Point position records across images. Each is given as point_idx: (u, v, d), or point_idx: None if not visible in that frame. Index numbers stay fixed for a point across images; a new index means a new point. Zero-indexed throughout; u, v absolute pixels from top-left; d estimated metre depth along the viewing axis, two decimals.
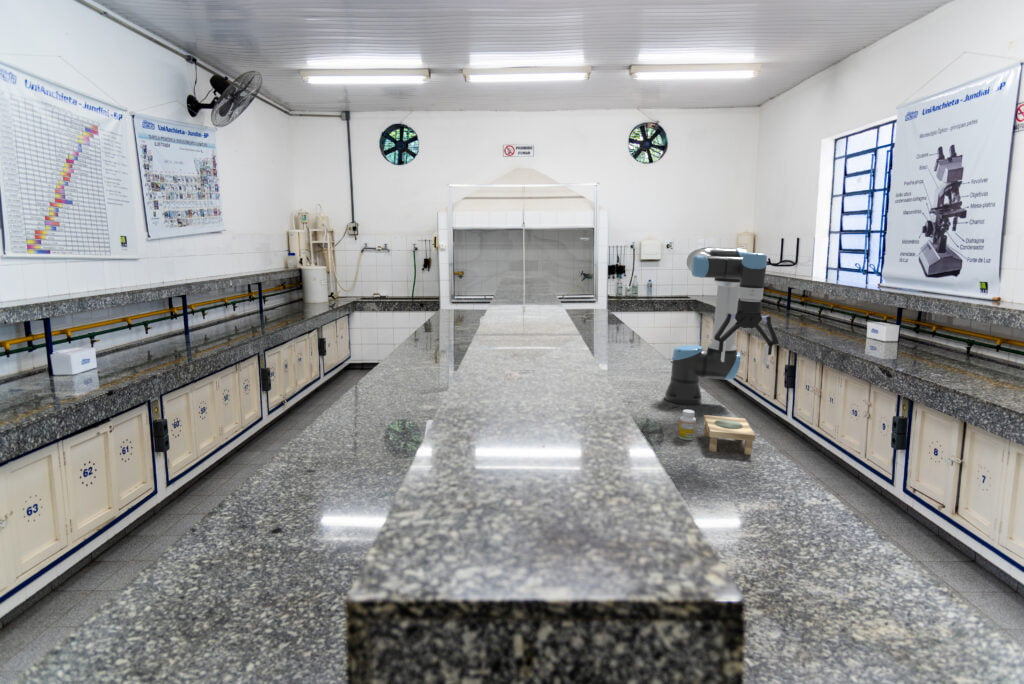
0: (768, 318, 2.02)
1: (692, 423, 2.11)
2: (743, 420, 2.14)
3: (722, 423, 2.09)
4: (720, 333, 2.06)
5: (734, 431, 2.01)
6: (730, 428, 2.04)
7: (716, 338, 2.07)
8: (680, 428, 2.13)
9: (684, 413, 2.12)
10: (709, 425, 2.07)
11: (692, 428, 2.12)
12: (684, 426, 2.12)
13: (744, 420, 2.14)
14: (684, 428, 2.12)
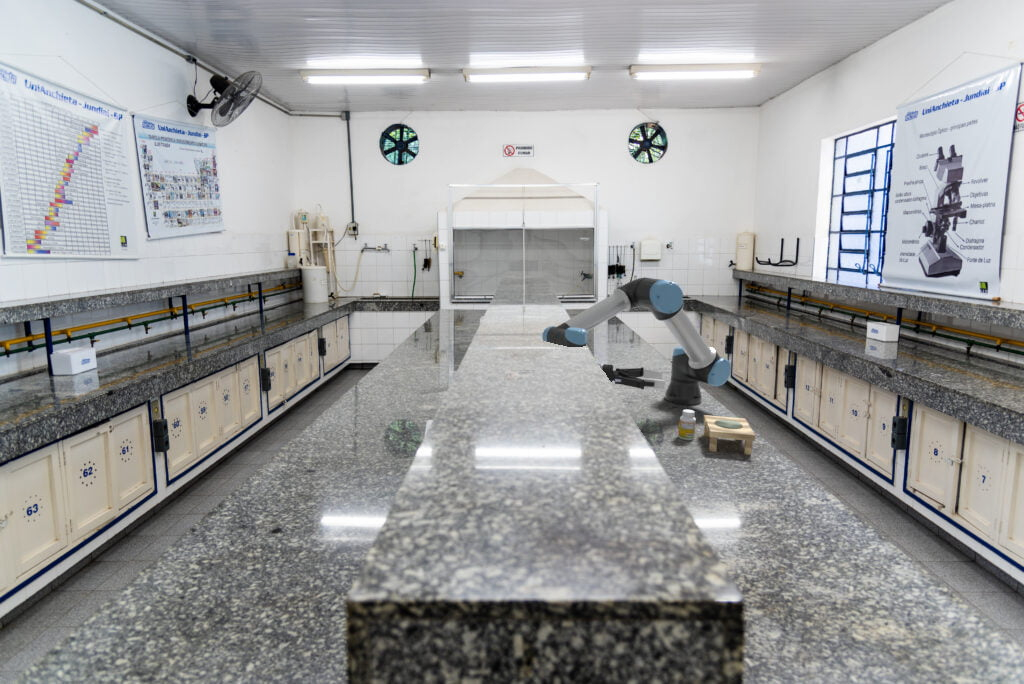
0: None
1: (692, 423, 2.11)
2: (743, 420, 2.14)
3: (722, 423, 2.09)
4: None
5: (734, 431, 2.01)
6: (730, 428, 2.04)
7: None
8: (680, 428, 2.13)
9: (684, 413, 2.12)
10: (709, 425, 2.07)
11: (692, 428, 2.12)
12: (684, 426, 2.12)
13: (744, 420, 2.14)
14: (684, 428, 2.12)
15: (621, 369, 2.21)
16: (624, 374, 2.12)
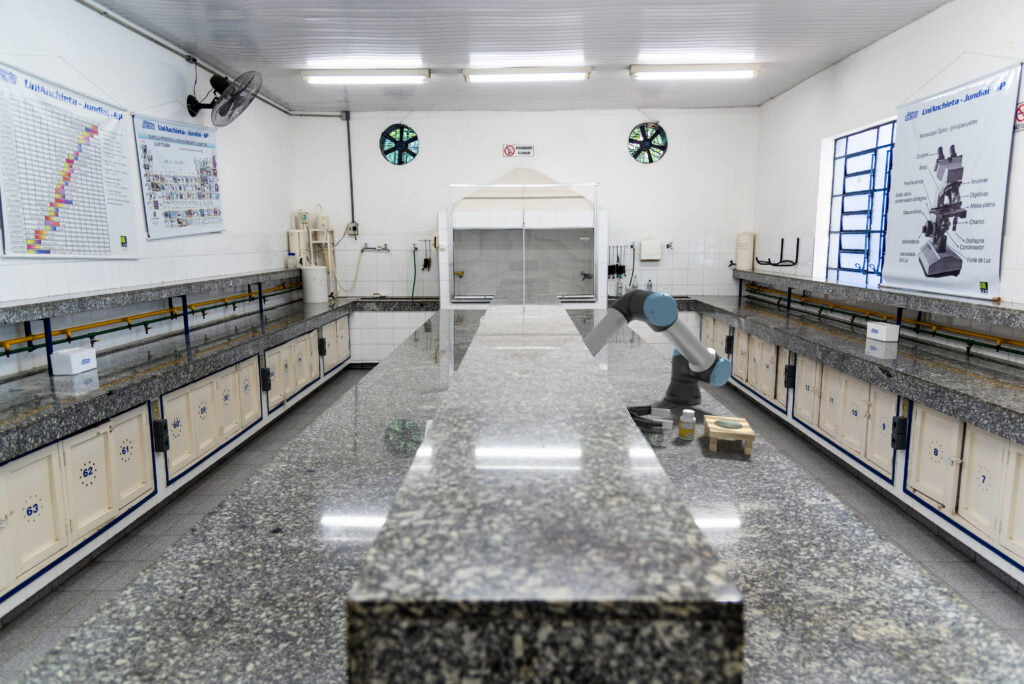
0: None
1: (692, 423, 2.11)
2: (743, 420, 2.14)
3: (722, 423, 2.09)
4: None
5: (734, 431, 2.01)
6: (730, 428, 2.04)
7: None
8: (680, 428, 2.13)
9: (684, 413, 2.12)
10: (709, 425, 2.07)
11: (692, 428, 2.12)
12: (684, 426, 2.12)
13: (744, 420, 2.14)
14: (684, 428, 2.12)
15: (629, 407, 2.22)
16: (632, 414, 2.13)
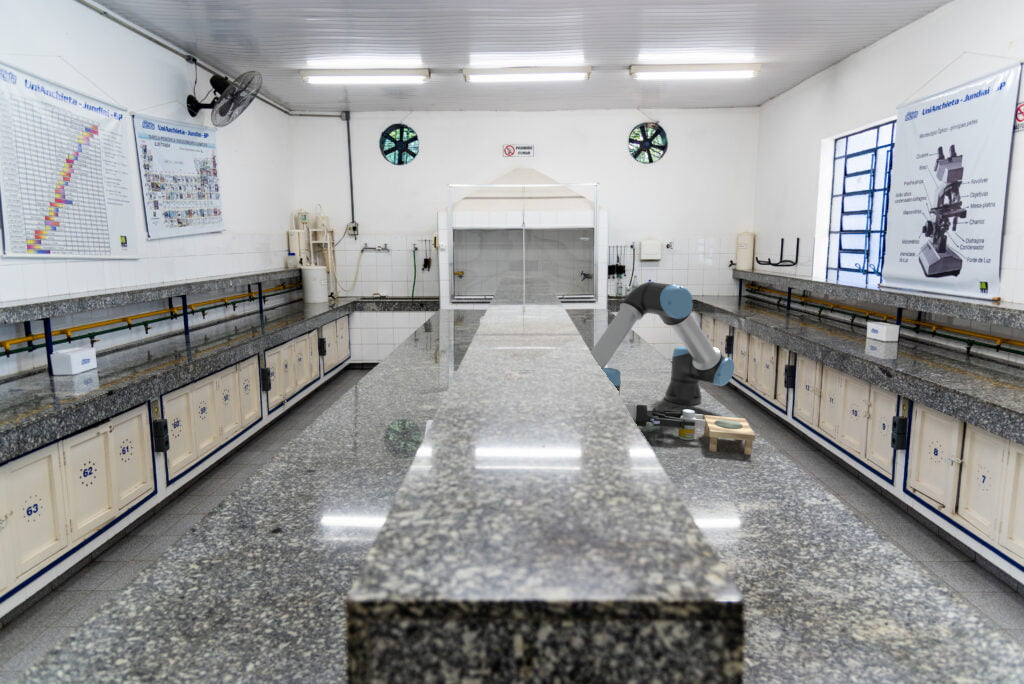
0: None
1: None
2: (743, 420, 2.14)
3: (722, 423, 2.09)
4: None
5: (734, 431, 2.01)
6: (730, 428, 2.04)
7: None
8: (680, 428, 2.13)
9: (684, 413, 2.12)
10: (709, 425, 2.07)
11: (692, 428, 2.12)
12: None
13: (744, 420, 2.14)
14: (684, 428, 2.12)
15: (657, 409, 2.20)
16: (660, 415, 2.13)
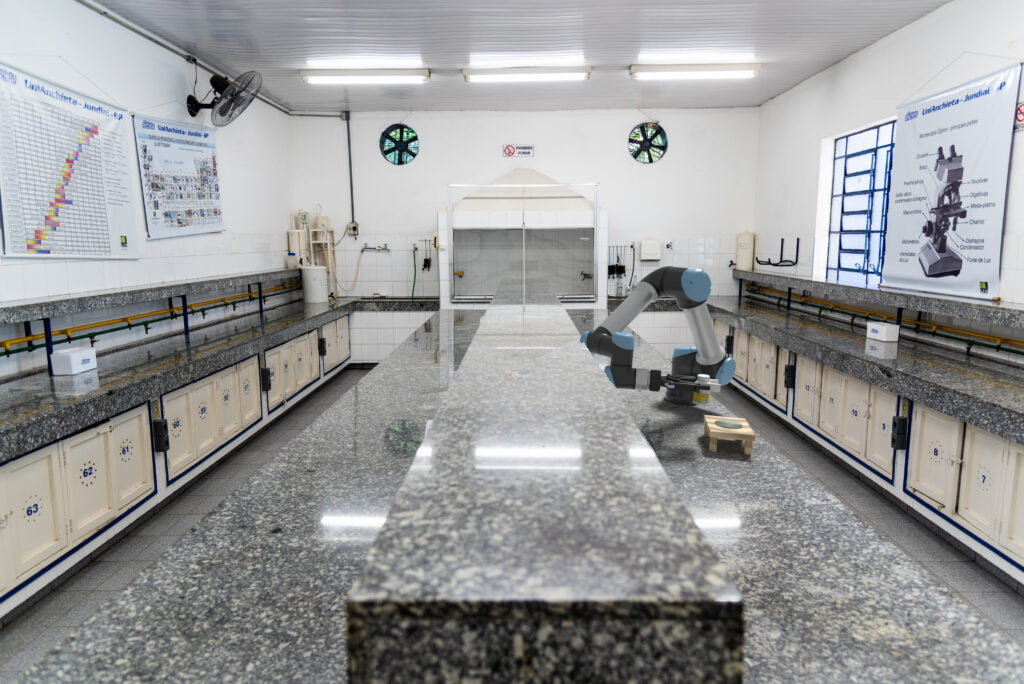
0: None
1: None
2: (743, 420, 2.14)
3: (722, 423, 2.09)
4: None
5: (734, 431, 2.01)
6: (730, 428, 2.04)
7: None
8: (695, 393, 2.09)
9: (699, 377, 2.08)
10: (709, 425, 2.07)
11: (707, 393, 2.07)
12: None
13: (744, 420, 2.14)
14: (699, 393, 2.07)
15: (671, 375, 2.16)
16: (675, 379, 2.08)
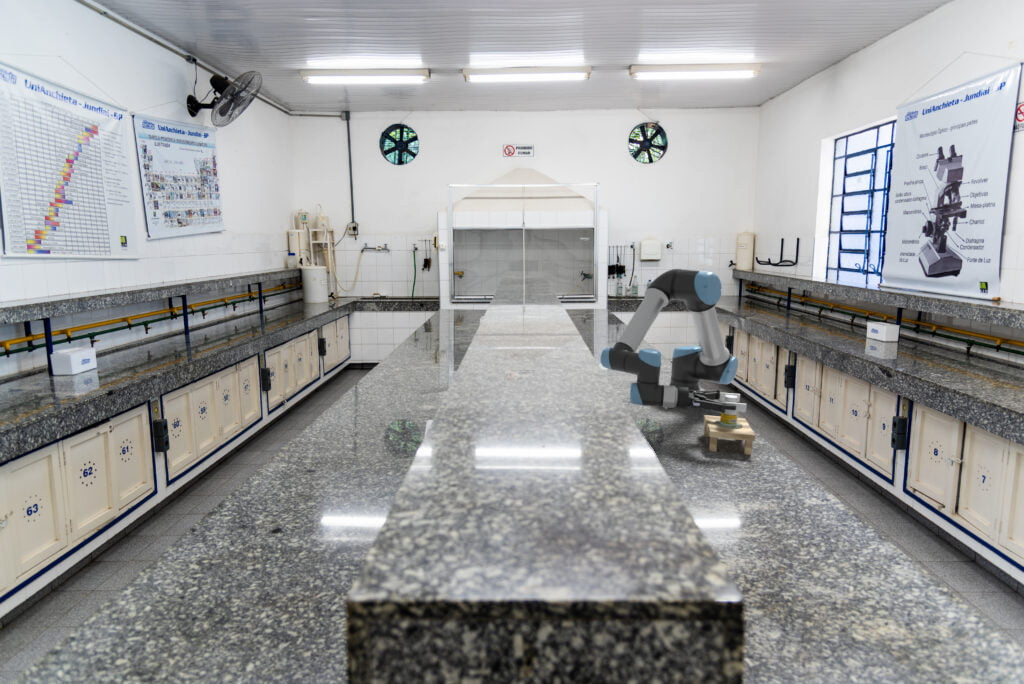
0: None
1: None
2: (743, 420, 2.14)
3: None
4: None
5: (734, 431, 2.01)
6: (730, 428, 2.04)
7: None
8: (722, 414, 2.07)
9: (727, 398, 2.06)
10: (709, 425, 2.07)
11: (735, 414, 2.05)
12: (726, 412, 2.06)
13: (744, 420, 2.14)
14: (727, 414, 2.06)
15: (696, 391, 2.14)
16: (701, 397, 2.05)
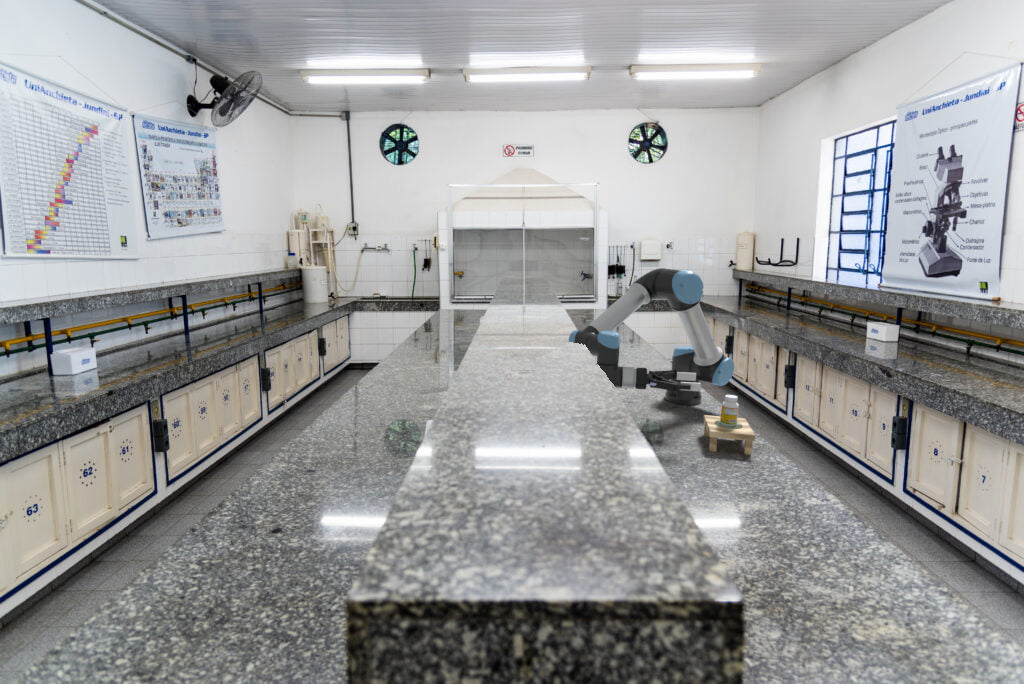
0: None
1: (735, 409, 2.05)
2: (743, 420, 2.14)
3: None
4: None
5: (734, 431, 2.01)
6: (730, 428, 2.04)
7: None
8: (722, 414, 2.07)
9: (727, 398, 2.06)
10: (709, 425, 2.07)
11: (735, 414, 2.05)
12: (726, 412, 2.06)
13: (744, 420, 2.14)
14: (727, 414, 2.06)
15: (654, 372, 2.19)
16: (659, 377, 2.10)
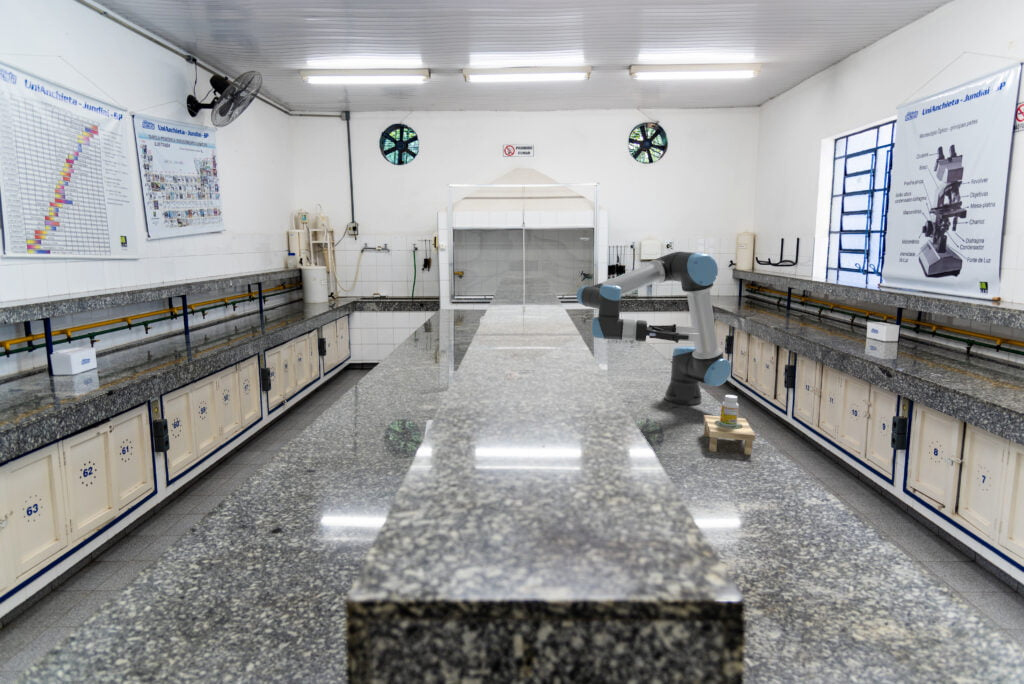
0: None
1: (735, 409, 2.05)
2: (743, 420, 2.14)
3: None
4: None
5: (734, 431, 2.01)
6: (730, 428, 2.04)
7: None
8: (722, 414, 2.07)
9: (727, 398, 2.06)
10: (709, 425, 2.07)
11: (735, 414, 2.05)
12: (726, 412, 2.06)
13: (744, 420, 2.14)
14: (727, 414, 2.06)
15: None
16: (658, 329, 2.17)
